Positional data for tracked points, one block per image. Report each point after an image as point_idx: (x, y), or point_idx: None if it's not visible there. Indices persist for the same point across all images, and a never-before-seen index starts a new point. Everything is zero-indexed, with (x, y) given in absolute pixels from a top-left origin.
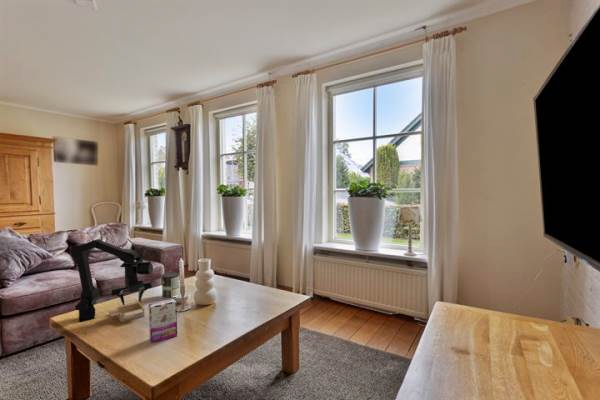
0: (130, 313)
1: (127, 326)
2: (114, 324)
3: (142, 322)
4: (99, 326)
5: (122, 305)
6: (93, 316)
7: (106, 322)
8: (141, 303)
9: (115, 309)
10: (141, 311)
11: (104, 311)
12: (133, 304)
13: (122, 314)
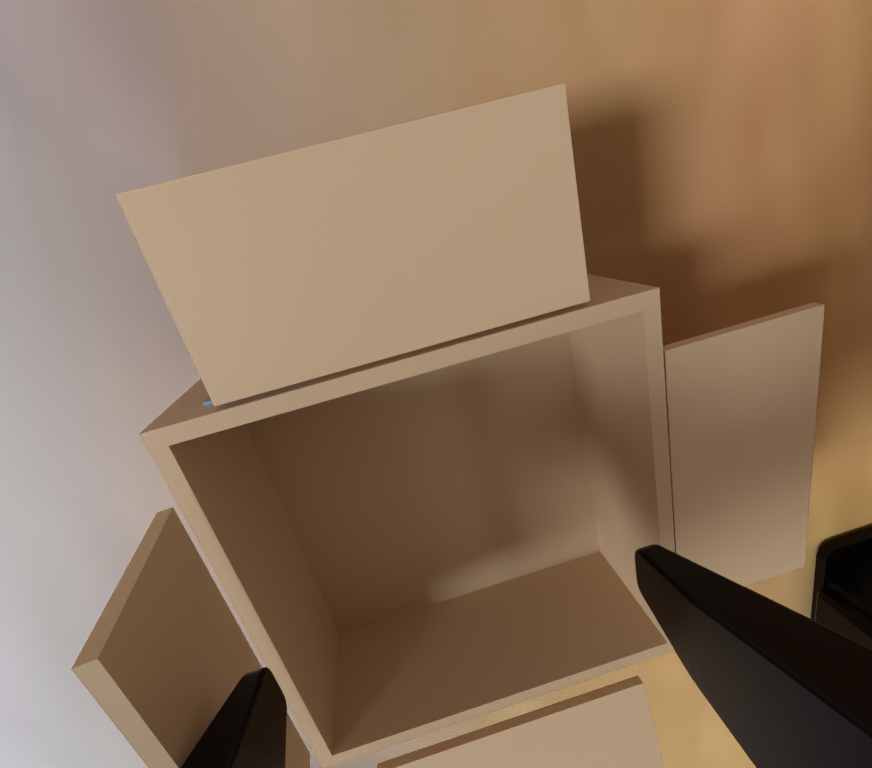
0: (453, 225)
1: (467, 7)
2: (651, 241)
3: (198, 66)
4: (820, 269)
5: (596, 696)
6: (837, 580)
7: None
8: (228, 652)
9: None
10: (175, 238)
11: (703, 697)
12: (417, 716)
13: (611, 295)
